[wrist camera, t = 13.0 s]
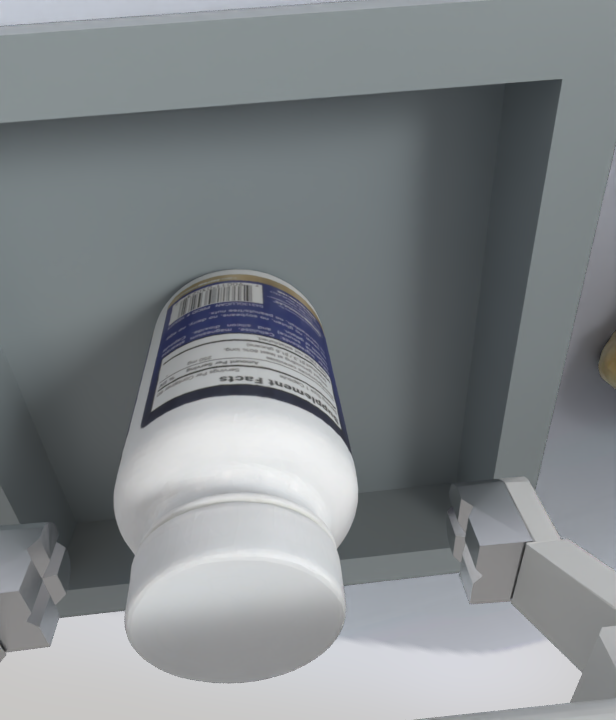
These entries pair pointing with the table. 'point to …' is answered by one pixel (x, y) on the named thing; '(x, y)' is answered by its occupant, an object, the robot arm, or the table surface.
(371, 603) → the table surface
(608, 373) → the pastry
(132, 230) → the tray
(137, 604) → the pill bottle
